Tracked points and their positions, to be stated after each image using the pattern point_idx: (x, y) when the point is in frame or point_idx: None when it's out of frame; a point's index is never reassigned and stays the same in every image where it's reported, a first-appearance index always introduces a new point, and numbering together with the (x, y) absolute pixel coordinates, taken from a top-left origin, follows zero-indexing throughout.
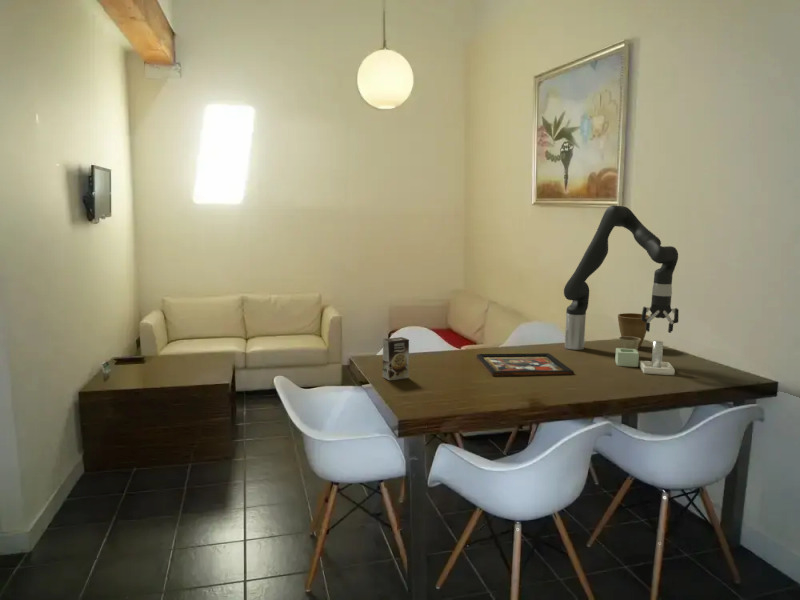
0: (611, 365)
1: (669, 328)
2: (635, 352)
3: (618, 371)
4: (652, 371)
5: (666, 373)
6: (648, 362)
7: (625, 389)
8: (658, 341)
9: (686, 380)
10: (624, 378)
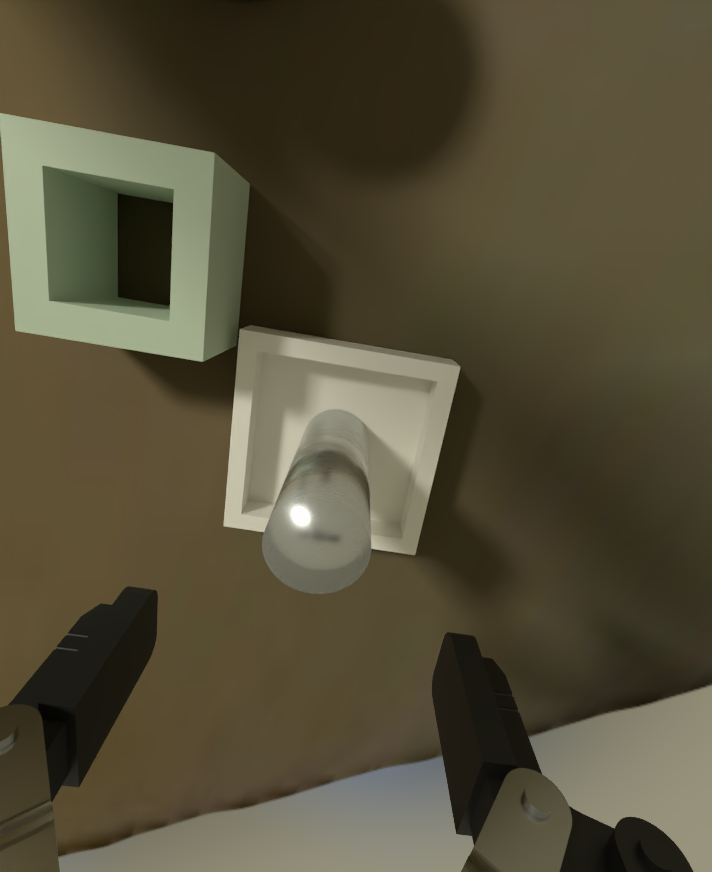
0: None
1: (443, 743)
2: (178, 323)
3: (84, 470)
4: None
5: None
6: (303, 357)
7: None
8: (324, 536)
9: (434, 625)
10: None
